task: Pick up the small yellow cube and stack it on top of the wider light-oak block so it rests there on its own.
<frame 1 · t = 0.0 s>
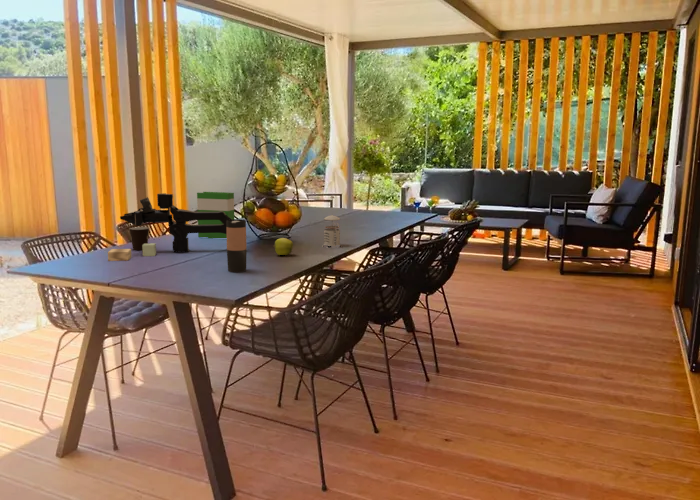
hand: (122, 216, 269), 17 cm above the table, tool horizontal, fingers open, 9 cm apart
cereal box: (216, 237, 319), on the table
apple: (283, 256, 269), on the table
oak block: (120, 259, 257), on the table
coffee mug: (142, 249, 282), on the table
yellow cube: (149, 255, 266), on the table
travel mug: (237, 271, 236), on the table
french press: (332, 246, 296), on the table
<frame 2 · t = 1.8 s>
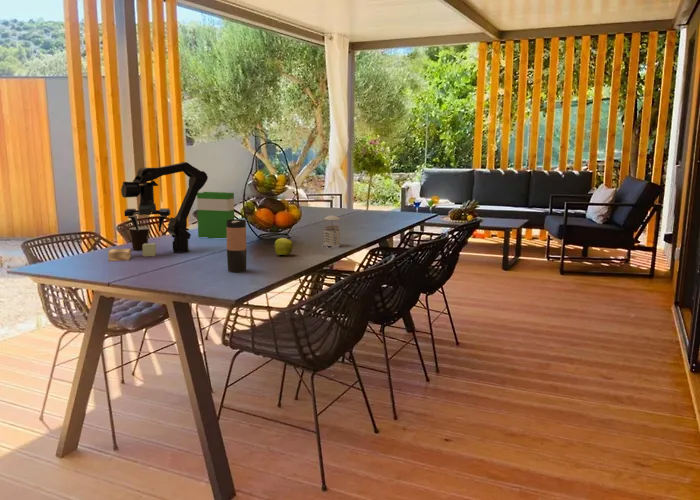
hand: (148, 231, 264), 11 cm above the table, tool pointing down, fingers open, 9 cm apart
nothing on the table moved.
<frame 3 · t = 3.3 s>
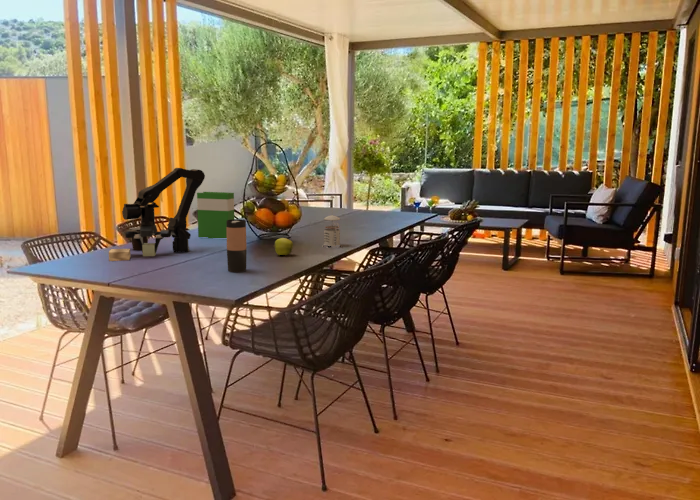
hand: (149, 252, 266), 1 cm above the table, tool pointing down, fingers closed on yellow cube, 5 cm apart
yellow cube: (149, 255, 266), on the table, touching gripper
everything else where it was.
when the fingers open (6 cm above the table, at t = 6.5 s): yellow cube drops 2 cm, point 4 cm above the table.
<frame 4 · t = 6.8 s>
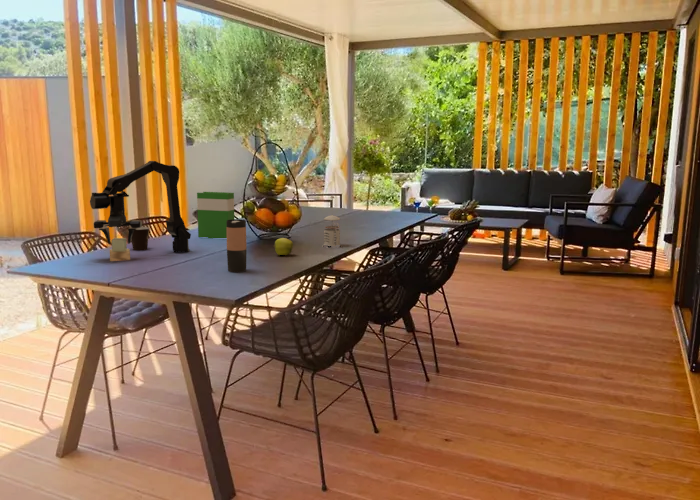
hand: (119, 244, 255), 6 cm above the table, tool pointing down, fingers open, 8 cm apart
yellow cube: (119, 250, 256), point 4 cm above the table
everything else where it was.
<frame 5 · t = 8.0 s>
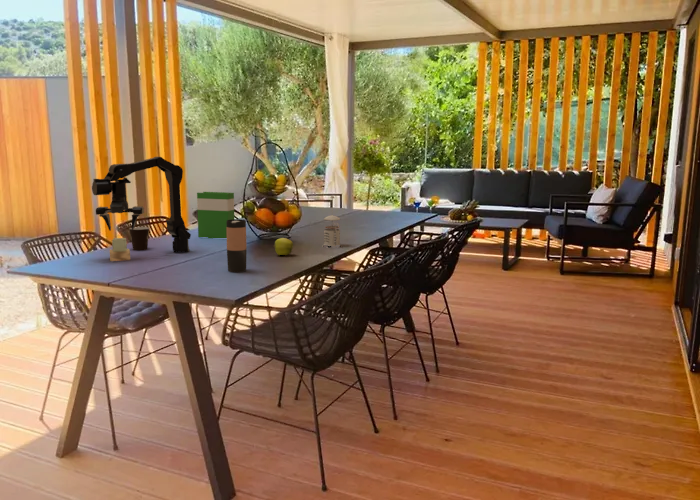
hand: (121, 230, 256), 12 cm above the table, tool pointing down, fingers open, 9 cm apart
oak block: (120, 259, 257), on the table, touching yellow cube
yellow cube: (119, 250, 256), point 4 cm above the table, touching oak block
everything else where it was.
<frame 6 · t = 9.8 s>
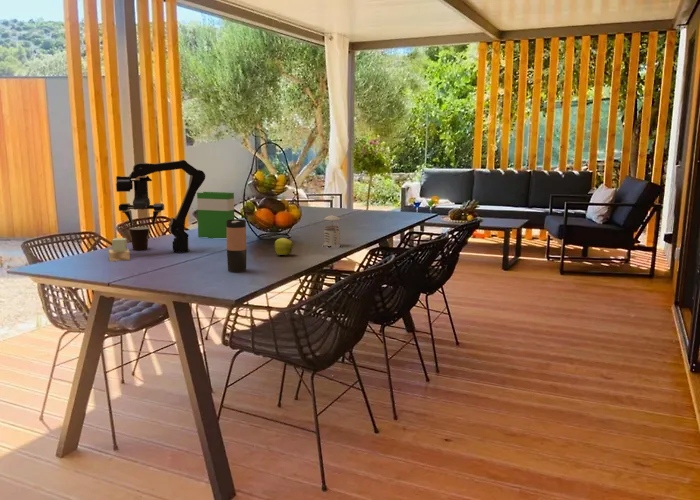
hand: (142, 226, 267), 13 cm above the table, tool pointing down, fingers open, 9 cm apart
nothing on the table moved.
at the end: yellow cube inside the target area on the oak block (0.2 cm from its centre), point 4.0 cm above the oak block's base; yellow cube touching oak block; the gripper is holding nothing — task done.
